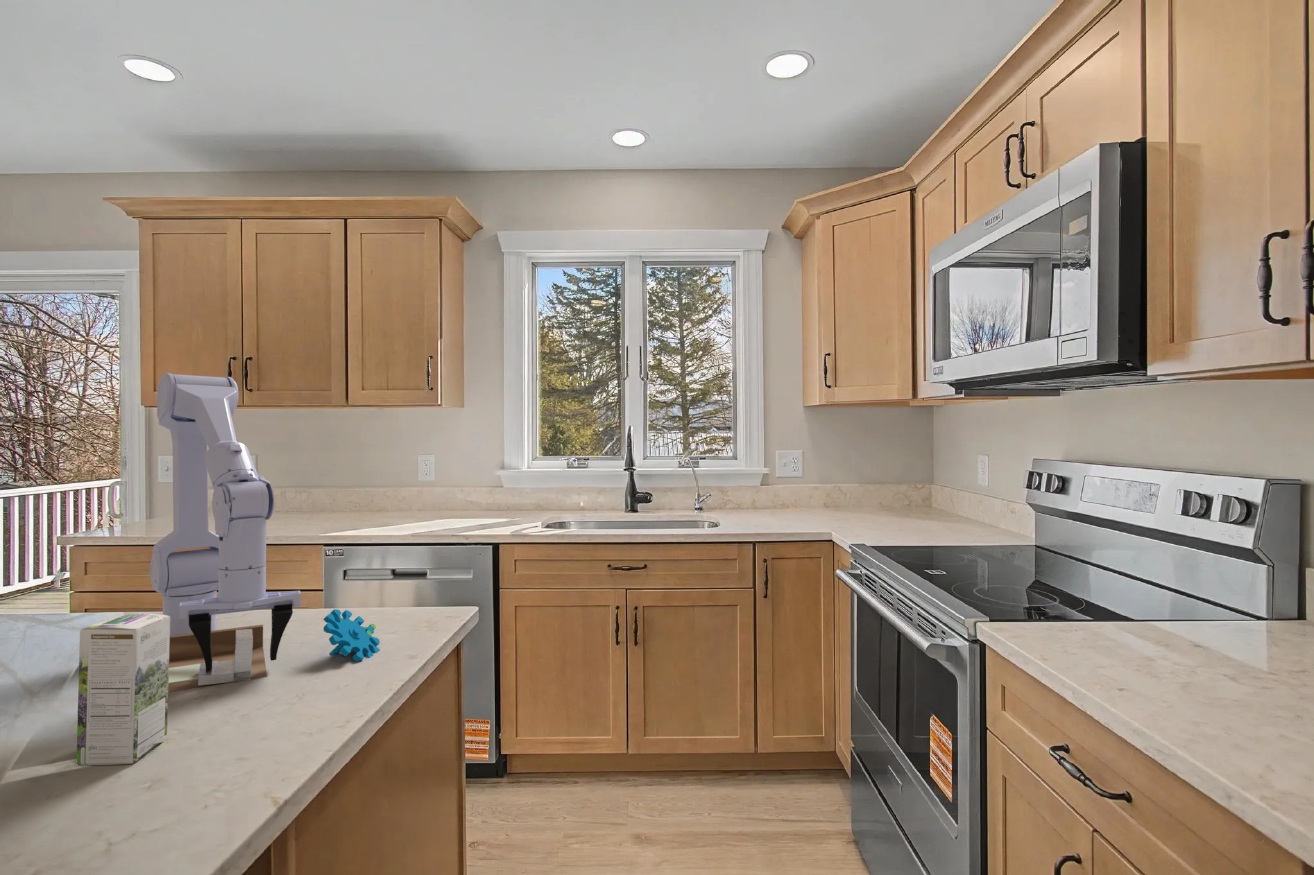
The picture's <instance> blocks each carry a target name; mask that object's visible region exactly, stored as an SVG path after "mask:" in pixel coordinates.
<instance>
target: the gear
mask: <svg viewBox="0 0 1314 875" xmlns="http://www.w3.org/2000/svg"><path fill="white" fill-rule="evenodd" d="M352 615H353V613H352V612H351V611H350V610H348V609H345V610H344V611H343V612H342V611H341V610H339V609H338V608H337V609H335V608H334V609H333V610H332V611H330V613H328V614H327V615H326V616H325V617H324V618H323V621H324V622H325V623H326V624H325V625H324V626H323V632H324V633H327V634H330V635H331V636H330V637H329V638H328V640H329V643H330V645H332V646H335V647H334V648H333V649H332V650H331V651H330V652H329V653H328V654H329V655H330V656H335V655H336V656H337V655H339V654H340V653H341V655H343V656H344V657H348V655H349V654H350V653H351V652H352V651H354V652H355V654H354V655H353V656H352V659H353V660H354V661H356V662H361V661H363V660H364V659H365V658H367V659H369V658H372V657H373V656H374V654H378V653H379V652H380V651H381V649H380V648H379V647H378V646H379V645H380V639H379V638H378V637H374V636H373V634H374V633H375V629H376V628H377V627H376V625H375V624H374V623H370V624H369V625H368V626H365V627H364V626H362V625H363V624H364V622H365V620H364V619H363V618H362V617H361V616H356V617H355V619H354V620H351V619H350V618H351V617H352Z"/></svg>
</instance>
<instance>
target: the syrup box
mask: <svg viewBox="0 0 1314 875" xmlns="http://www.w3.org/2000/svg"><path fill="white" fill-rule="evenodd" d="M169 640H170V616H168V615H163V614H157V613H139V612H138V613H126V614H118V615H116V616H113V617H110V618H107V619H105V620H103V621H100V622H96V623H94V624H92V625H89V626H86V627H83V628H81V629H80V631H79V654H78V655H79V658H78V660H79V661H78V664H79V665H78V686H77V688H78V691H77V692H78V693H77V694H78V695H77V728H76V730H77V731H76V733H77V734H76V735H77V736H76V761H75V764H76V765H78V766H105V765H106V766H107V765H108V766H109V765H112V766H113V765H129V764H135V763H136V762H138V761H139V760H140V759H142V758H143V757H145V756H146V755H147V754H149V753H150V752H152V751H153V750H155V749H156V748H157V747H159V746H160V745H162V744H163V743H164V741H161V742H157V741H159V740H161V739H162V738H164V737H165V736H166V735H167V734H168V715H169V714H168V711H169V709H168V708H169V706H168V704H169V692H168V681H169Z"/></svg>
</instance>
